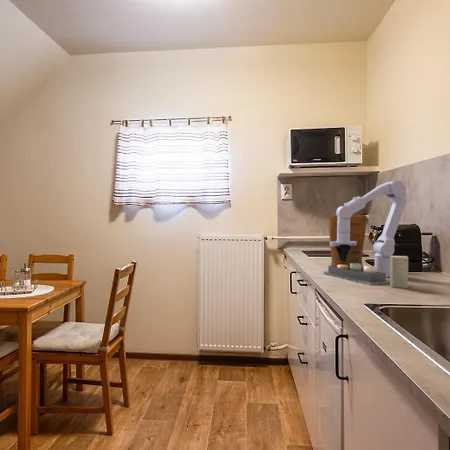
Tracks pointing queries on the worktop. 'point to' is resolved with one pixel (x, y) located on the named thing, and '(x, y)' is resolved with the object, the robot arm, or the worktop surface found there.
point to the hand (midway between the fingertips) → (342, 261)
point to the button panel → (357, 275)
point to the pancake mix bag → (355, 235)
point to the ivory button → (370, 269)
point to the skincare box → (399, 271)
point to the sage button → (355, 266)
